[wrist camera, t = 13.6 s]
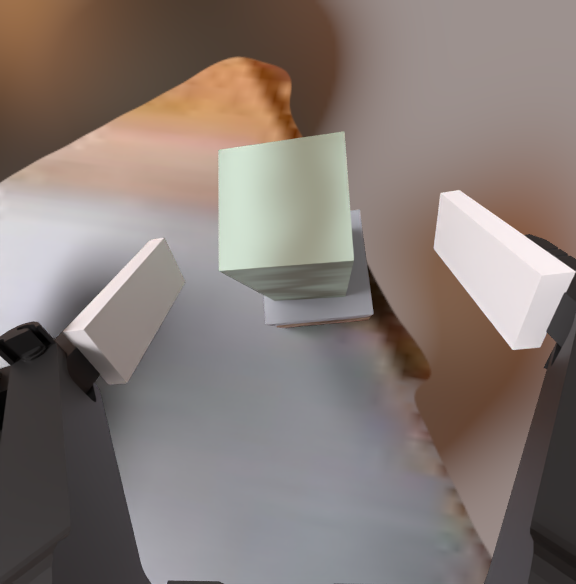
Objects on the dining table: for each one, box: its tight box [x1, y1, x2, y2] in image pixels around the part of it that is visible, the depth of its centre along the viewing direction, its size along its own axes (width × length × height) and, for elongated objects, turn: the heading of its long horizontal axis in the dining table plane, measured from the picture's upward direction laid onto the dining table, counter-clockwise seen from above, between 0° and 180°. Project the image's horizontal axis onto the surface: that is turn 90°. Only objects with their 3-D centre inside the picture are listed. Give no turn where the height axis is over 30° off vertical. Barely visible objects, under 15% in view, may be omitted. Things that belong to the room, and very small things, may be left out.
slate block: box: [263, 210, 374, 326], centre depth 27 cm, size 9×9×4 cm
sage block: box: [219, 132, 354, 301], centre depth 19 cm, size 6×6×12 cm
